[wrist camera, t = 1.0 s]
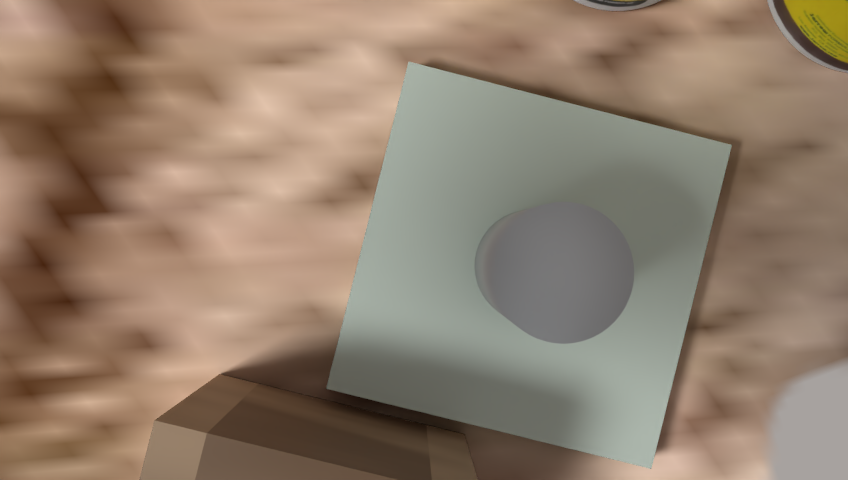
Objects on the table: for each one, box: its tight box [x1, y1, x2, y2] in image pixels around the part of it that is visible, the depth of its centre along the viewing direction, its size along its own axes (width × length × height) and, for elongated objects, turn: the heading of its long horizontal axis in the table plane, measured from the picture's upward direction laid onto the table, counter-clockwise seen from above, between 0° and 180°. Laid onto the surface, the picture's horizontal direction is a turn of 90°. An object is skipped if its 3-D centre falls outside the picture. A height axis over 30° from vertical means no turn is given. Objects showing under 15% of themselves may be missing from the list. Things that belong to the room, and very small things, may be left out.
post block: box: [326, 62, 732, 469], centre depth 17 cm, size 9×9×5 cm
